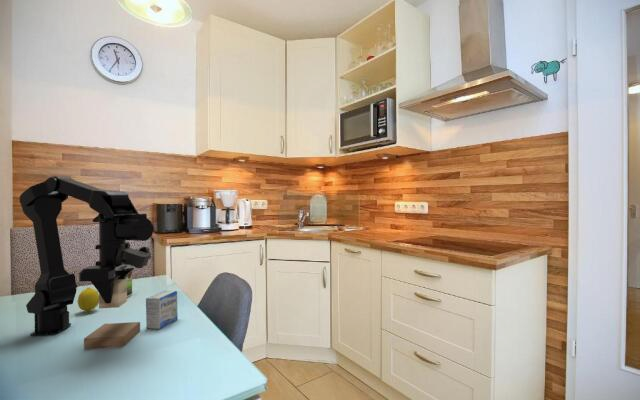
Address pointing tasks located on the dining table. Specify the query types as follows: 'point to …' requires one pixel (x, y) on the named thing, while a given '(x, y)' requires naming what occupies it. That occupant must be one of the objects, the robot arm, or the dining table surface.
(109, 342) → the walnut block
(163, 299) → the medicine box
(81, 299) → the lemon
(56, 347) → the dining table surface
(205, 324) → the dining table surface
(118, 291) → the birch block
